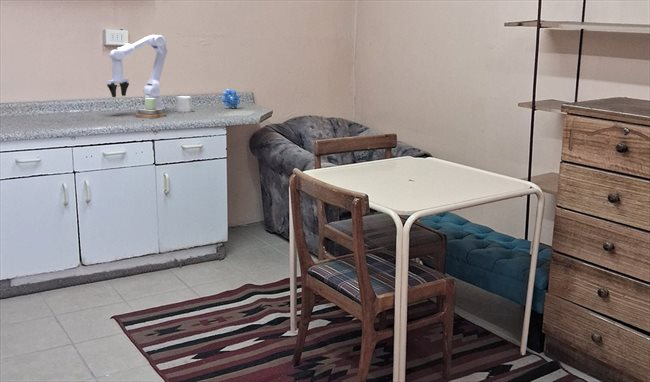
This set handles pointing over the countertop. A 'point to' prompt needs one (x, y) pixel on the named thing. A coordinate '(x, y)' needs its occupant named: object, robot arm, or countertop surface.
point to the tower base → (150, 116)
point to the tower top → (151, 111)
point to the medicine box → (184, 104)
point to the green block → (150, 103)
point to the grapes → (231, 98)
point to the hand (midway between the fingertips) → (118, 96)
